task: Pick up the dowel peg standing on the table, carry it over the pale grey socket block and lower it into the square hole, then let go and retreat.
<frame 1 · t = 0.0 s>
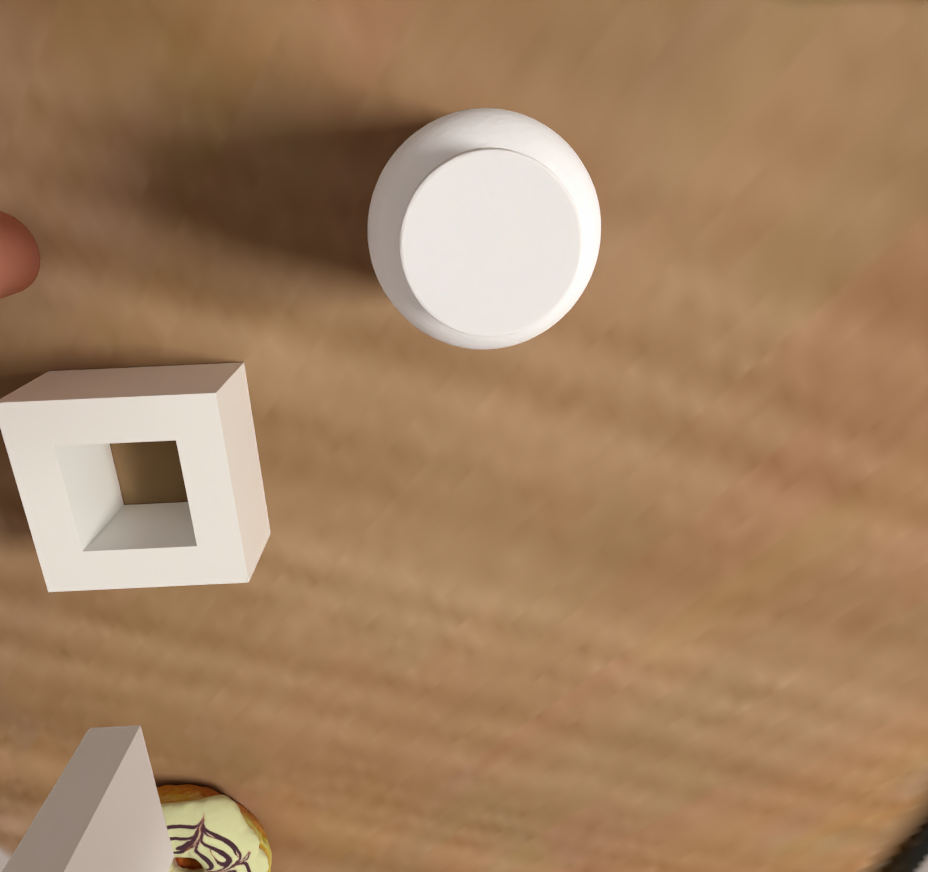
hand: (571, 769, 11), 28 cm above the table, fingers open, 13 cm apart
pill bottle: (472, 210, 35), on the table
decorated donut: (200, 830, 50), on the table
socket block: (165, 456, 39), on the table
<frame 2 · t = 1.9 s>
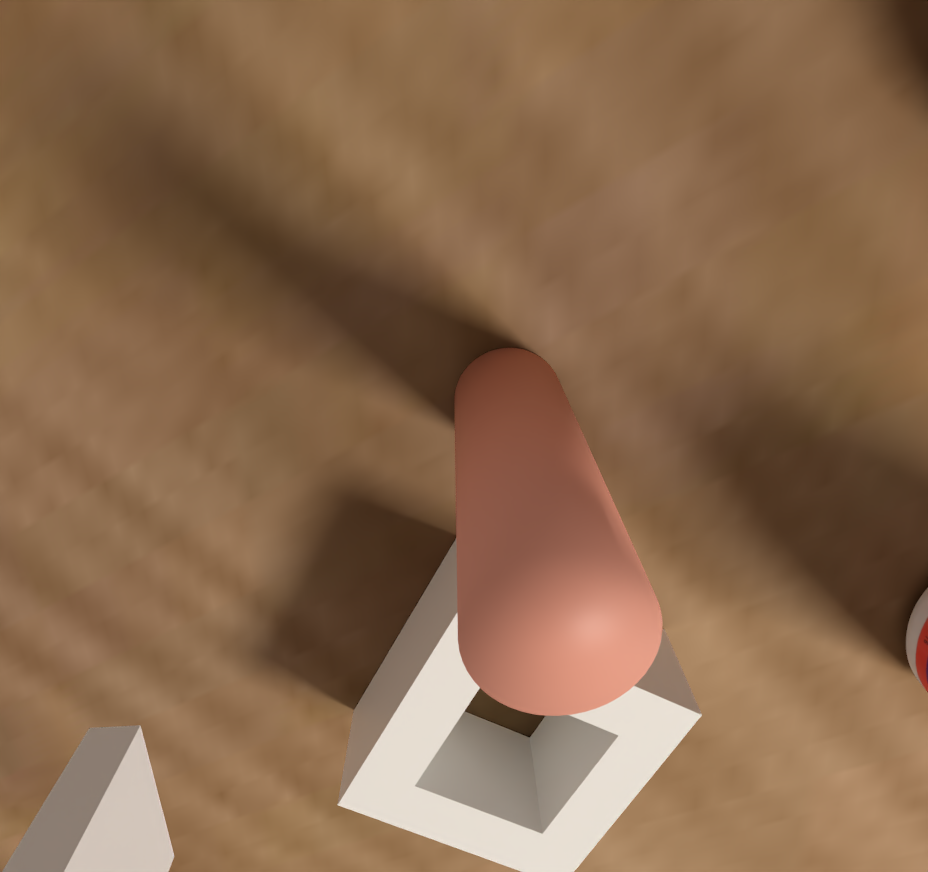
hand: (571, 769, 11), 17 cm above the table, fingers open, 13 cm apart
peg: (508, 399, 27), on the table
socket block: (505, 671, 32), on the table
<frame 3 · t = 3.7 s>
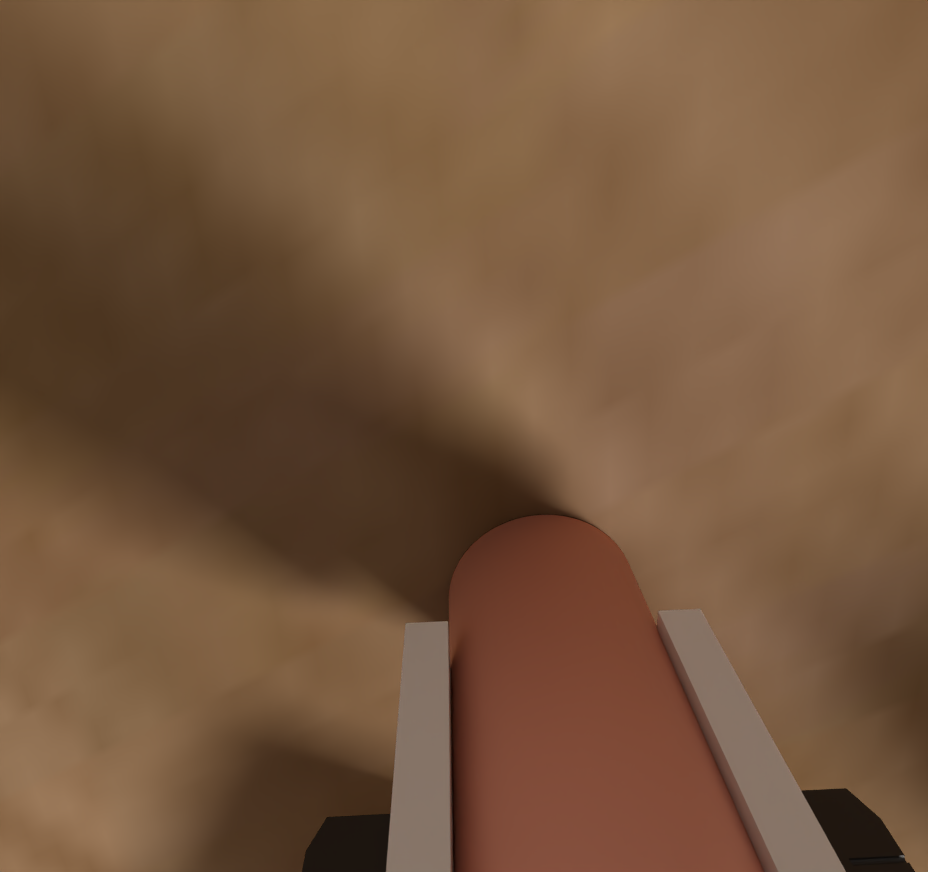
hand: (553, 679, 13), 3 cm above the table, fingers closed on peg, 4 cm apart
peg: (541, 597, 16), on the table, touching gripper
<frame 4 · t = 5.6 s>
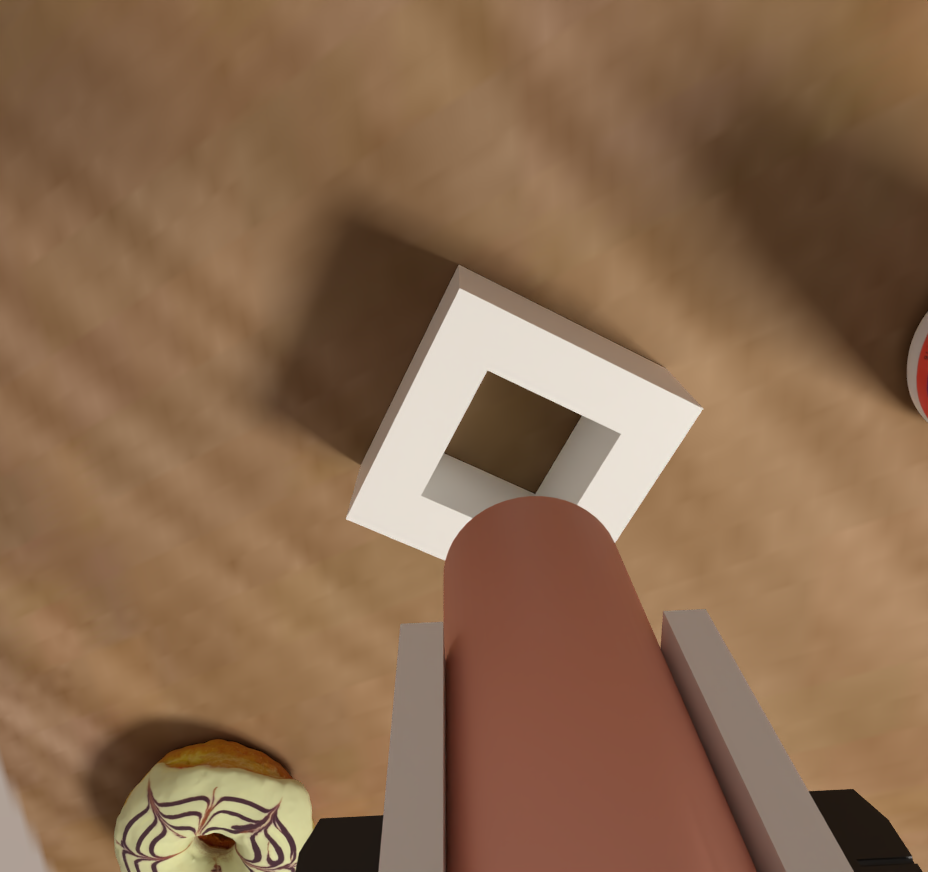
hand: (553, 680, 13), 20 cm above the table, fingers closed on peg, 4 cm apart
decorated donut: (230, 800, 41), on the table
peg: (531, 575, 17), point 16 cm above the table, touching gripper
socket block: (509, 418, 32), on the table
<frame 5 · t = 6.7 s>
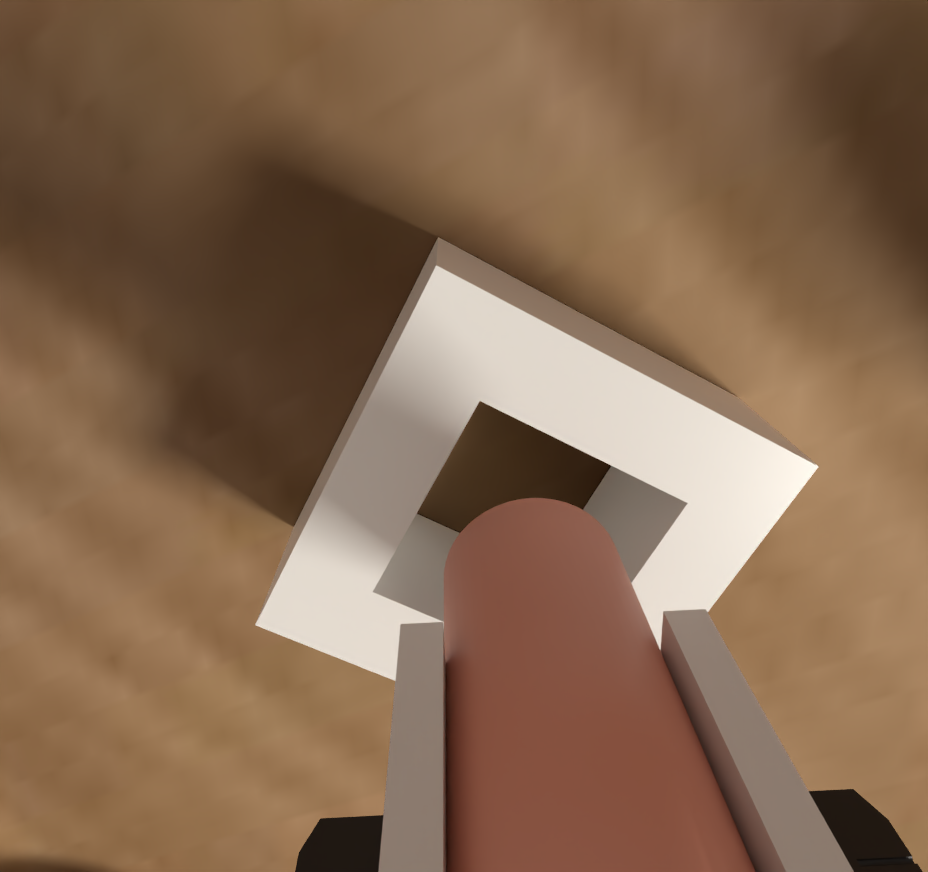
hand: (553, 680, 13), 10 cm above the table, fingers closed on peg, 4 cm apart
peg: (531, 577, 17), point 6 cm above the table, touching gripper
socket block: (509, 464, 22), on the table
when the fingers open (7 cm above the table, at t = 7.5 s): peg drops 3 cm, resting in socket block.
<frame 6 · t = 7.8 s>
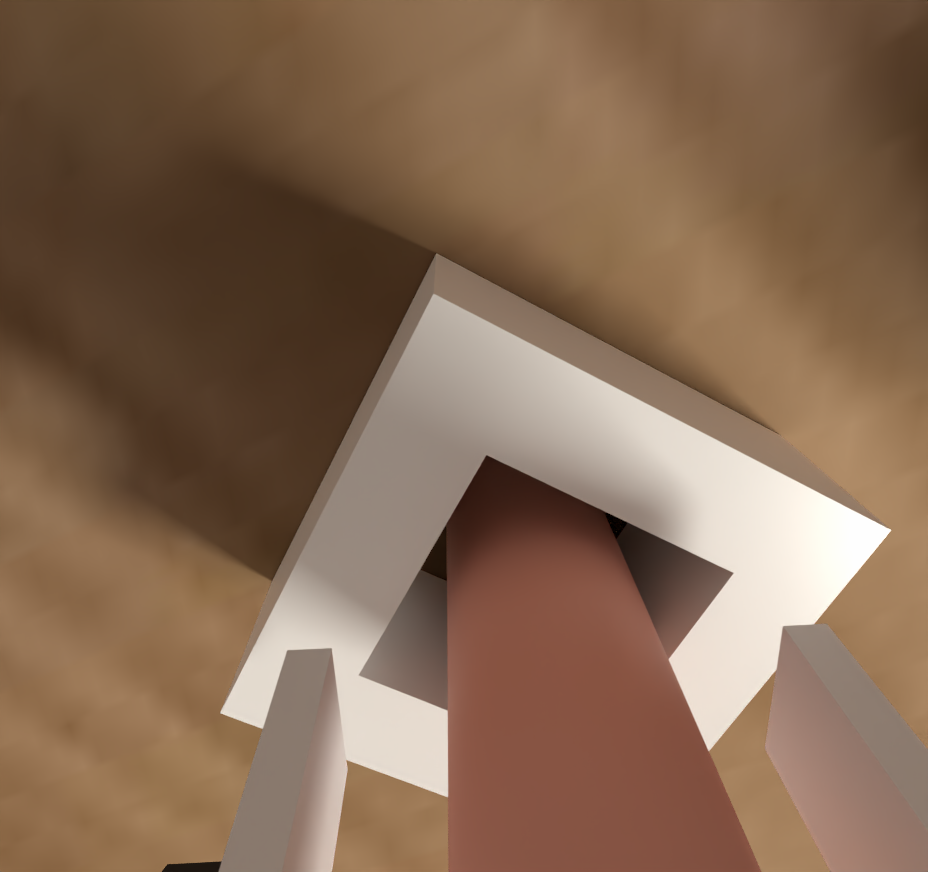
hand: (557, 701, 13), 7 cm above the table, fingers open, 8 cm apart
peg: (521, 511, 20), resting in socket block
socket block: (518, 511, 20), on the table
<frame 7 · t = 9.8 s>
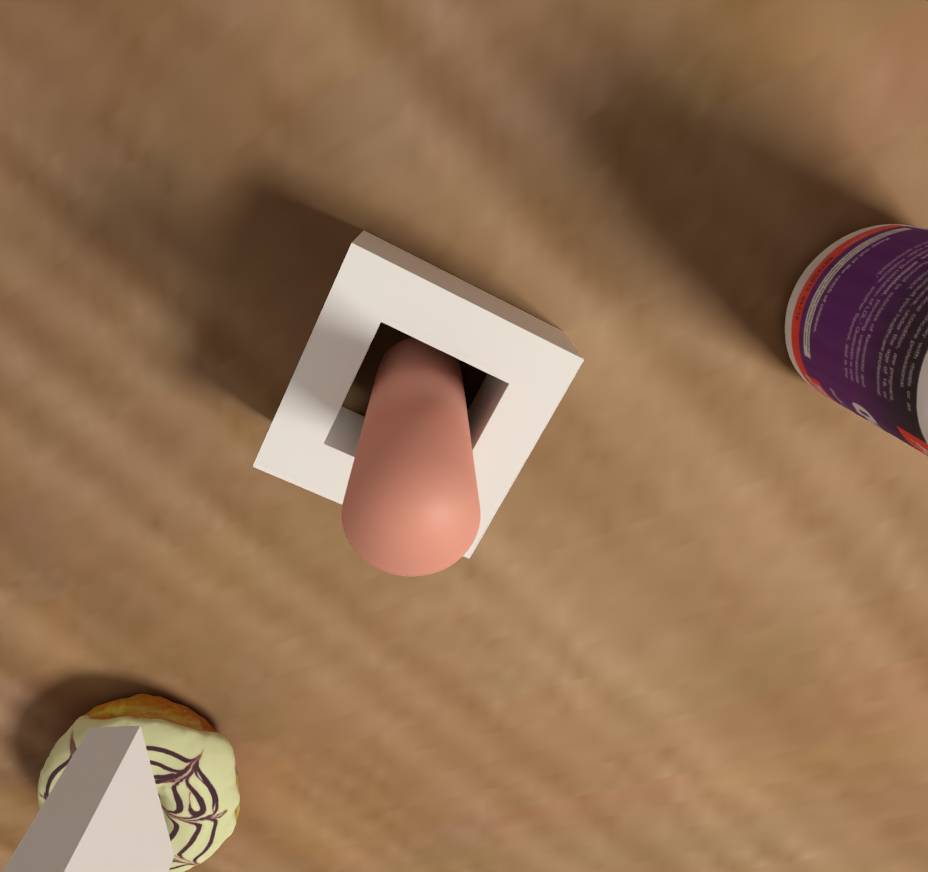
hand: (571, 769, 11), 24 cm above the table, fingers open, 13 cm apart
pill bottle: (859, 310, 34), on the table
decorated donut: (157, 758, 42), on the table
peg: (419, 378, 34), resting in socket block
socket block: (417, 378, 34), on the table
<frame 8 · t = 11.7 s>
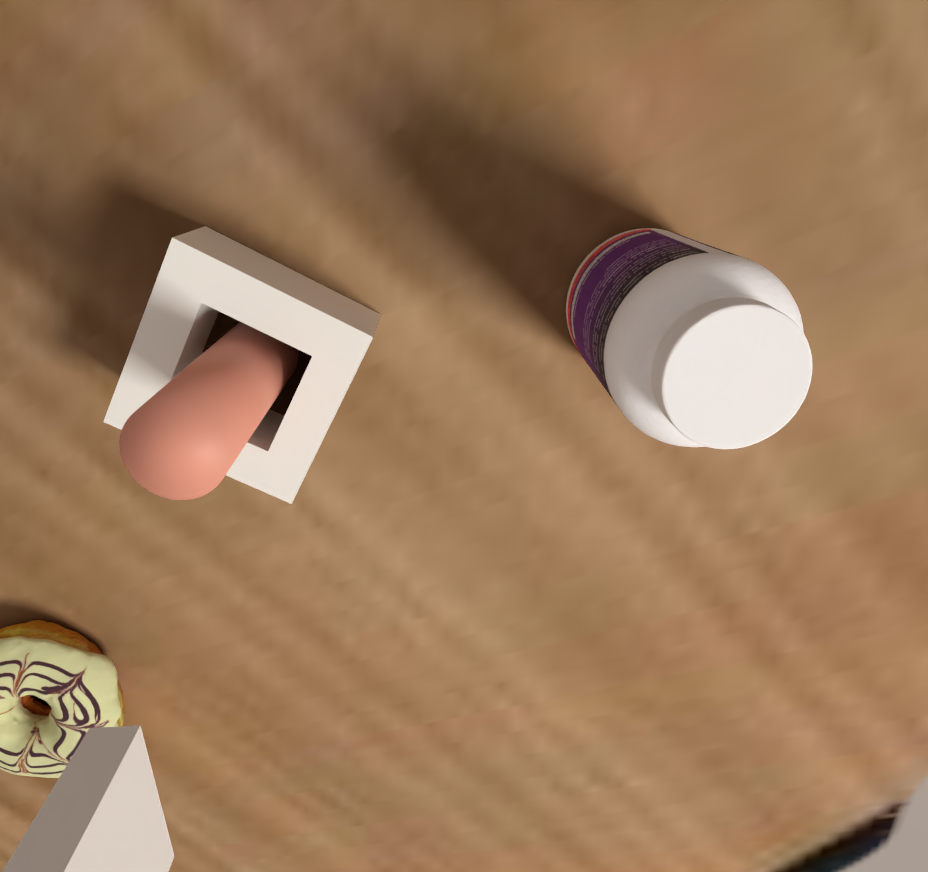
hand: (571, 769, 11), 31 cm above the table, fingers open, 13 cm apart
pill bottle: (635, 301, 40), on the table
decorated donut: (56, 679, 48), on the table
peg: (261, 353, 40), resting in socket block
socket block: (260, 353, 40), on the table
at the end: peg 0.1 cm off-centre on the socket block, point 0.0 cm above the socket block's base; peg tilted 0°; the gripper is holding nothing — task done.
